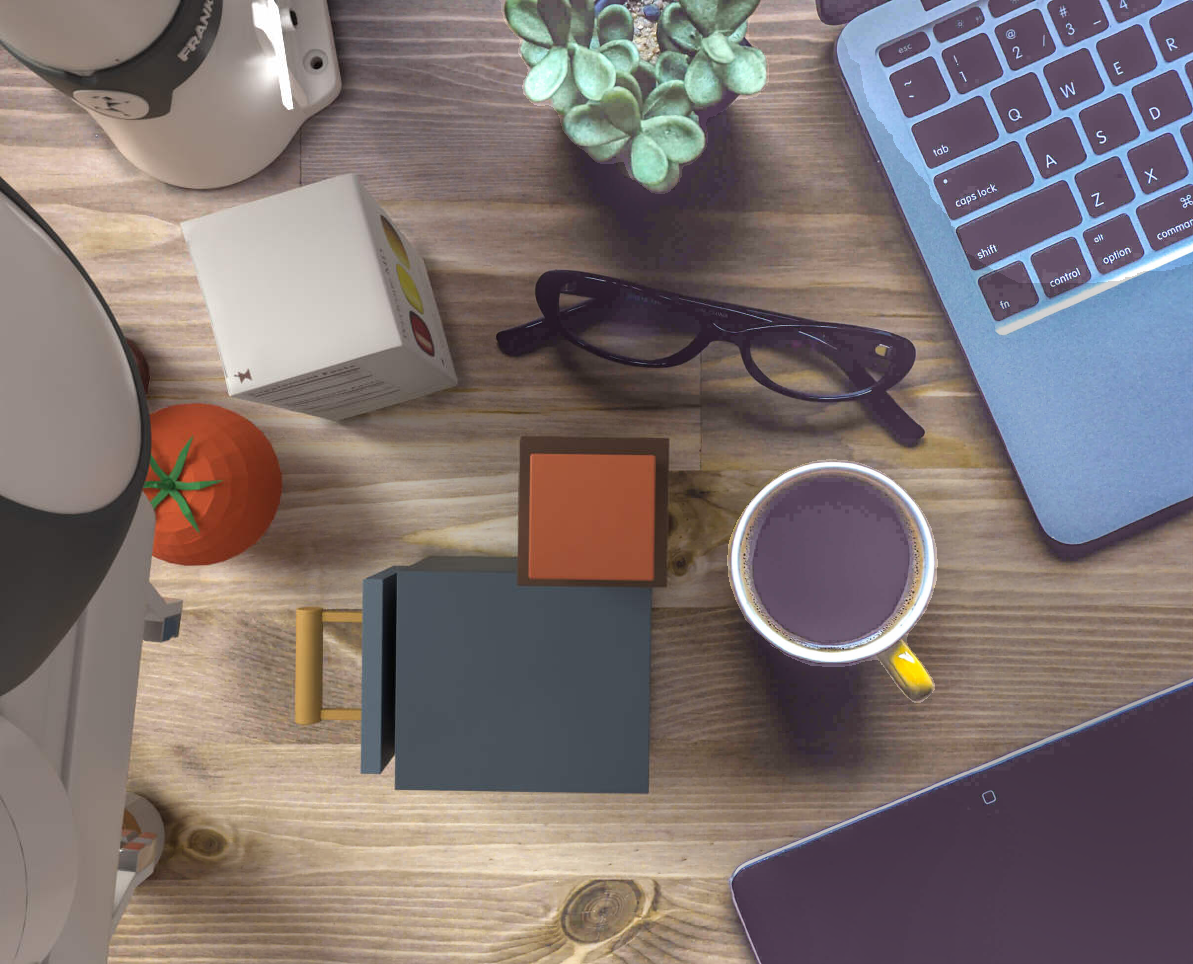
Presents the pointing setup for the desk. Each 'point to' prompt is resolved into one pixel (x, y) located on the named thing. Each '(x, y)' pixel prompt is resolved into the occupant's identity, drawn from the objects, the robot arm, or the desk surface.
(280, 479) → the tomato
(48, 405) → the robot arm
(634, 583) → the stand
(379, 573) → the drawer
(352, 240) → the supplement box
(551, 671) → the cabinet
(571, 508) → the block
